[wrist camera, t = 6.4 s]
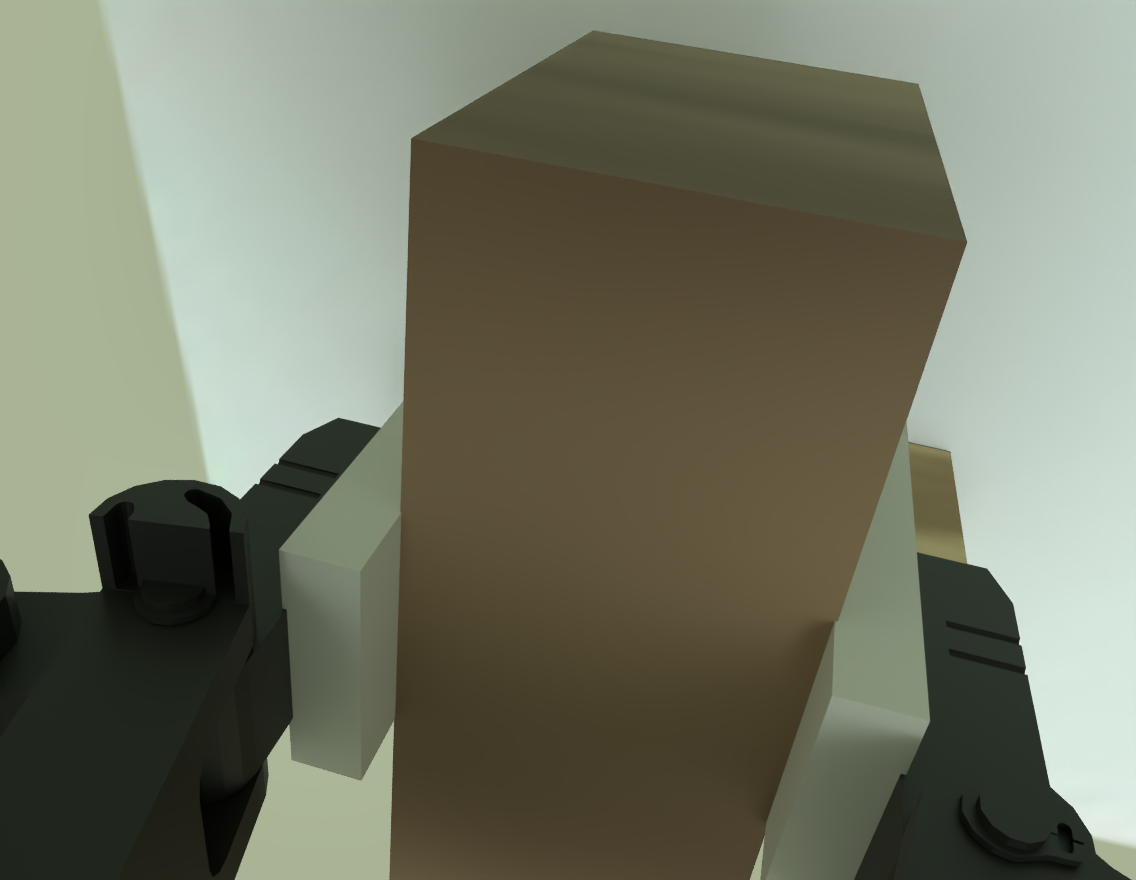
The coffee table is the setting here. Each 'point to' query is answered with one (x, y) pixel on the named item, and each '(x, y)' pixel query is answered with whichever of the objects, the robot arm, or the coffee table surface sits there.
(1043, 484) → the coffee table surface
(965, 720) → the robot arm
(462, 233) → the rail
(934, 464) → the knobbed wooden twin blocks
